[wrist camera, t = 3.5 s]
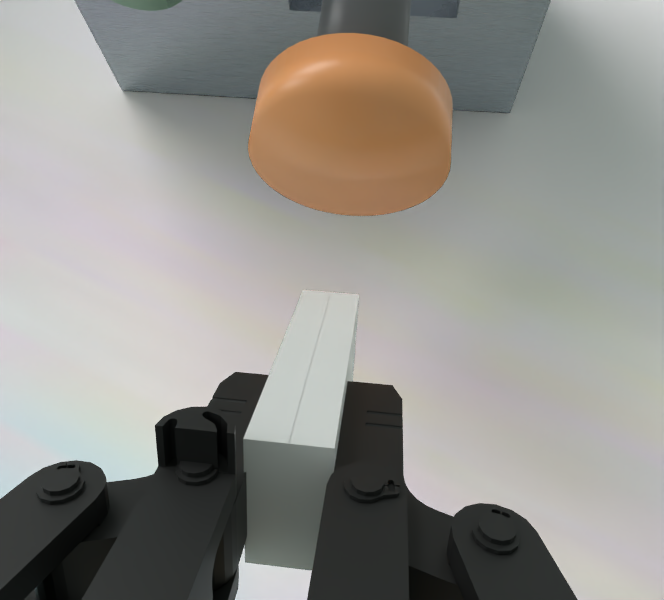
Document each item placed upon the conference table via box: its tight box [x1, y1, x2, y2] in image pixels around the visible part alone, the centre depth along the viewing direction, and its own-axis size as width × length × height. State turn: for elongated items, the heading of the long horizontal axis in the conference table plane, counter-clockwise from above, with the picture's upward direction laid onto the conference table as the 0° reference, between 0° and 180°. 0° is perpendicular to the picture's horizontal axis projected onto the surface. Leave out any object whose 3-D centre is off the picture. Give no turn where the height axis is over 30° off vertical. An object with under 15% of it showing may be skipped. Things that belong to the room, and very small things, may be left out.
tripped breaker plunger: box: [248, 0, 453, 216], centre depth 20 cm, size 13×6×6 cm, turn 174°
